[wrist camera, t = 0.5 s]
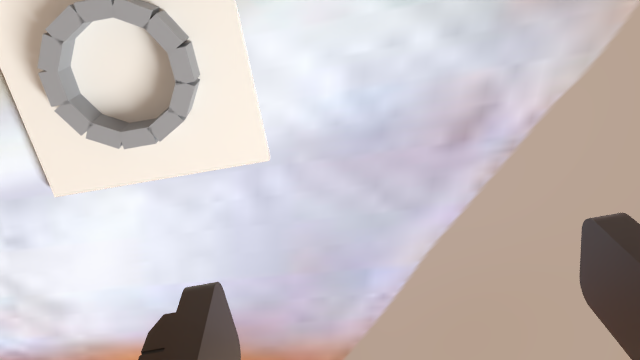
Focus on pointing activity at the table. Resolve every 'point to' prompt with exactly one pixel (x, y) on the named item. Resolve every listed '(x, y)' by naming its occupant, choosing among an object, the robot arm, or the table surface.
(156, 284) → the table surface
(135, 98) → the collar plate
